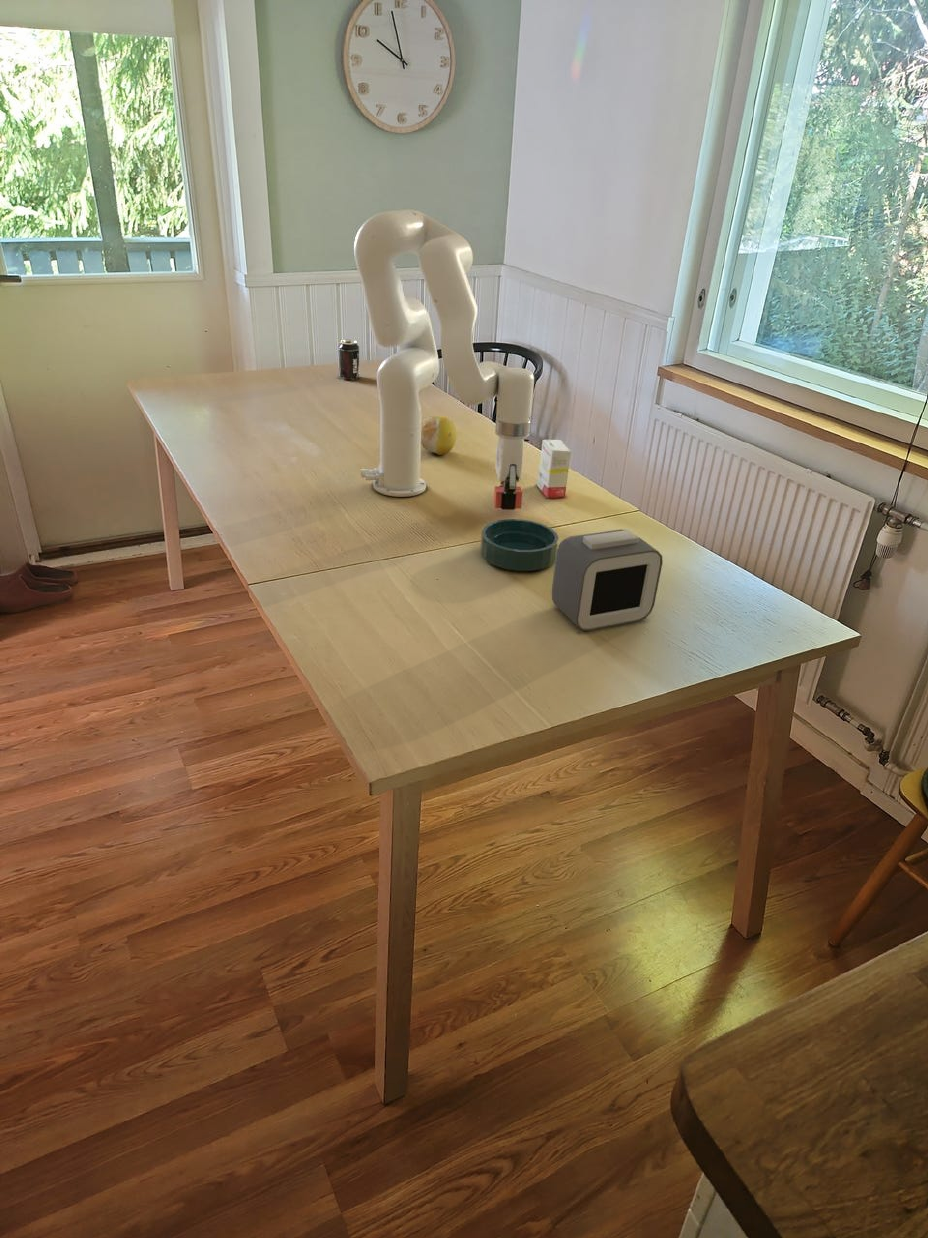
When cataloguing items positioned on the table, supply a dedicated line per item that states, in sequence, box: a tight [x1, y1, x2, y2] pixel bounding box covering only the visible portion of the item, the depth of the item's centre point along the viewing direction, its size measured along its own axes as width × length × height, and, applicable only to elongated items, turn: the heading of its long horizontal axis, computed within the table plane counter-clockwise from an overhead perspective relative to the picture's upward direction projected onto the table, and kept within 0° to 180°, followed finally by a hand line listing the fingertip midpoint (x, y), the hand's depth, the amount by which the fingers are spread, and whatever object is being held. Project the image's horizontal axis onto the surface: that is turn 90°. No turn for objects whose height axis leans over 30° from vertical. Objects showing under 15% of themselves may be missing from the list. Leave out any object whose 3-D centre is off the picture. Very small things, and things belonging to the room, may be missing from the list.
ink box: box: [536, 439, 572, 499], centre depth 202 cm, size 9×5×12 cm, turn 12°
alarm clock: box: [550, 529, 663, 632], centre depth 152 cm, size 16×11×16 cm
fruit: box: [421, 415, 458, 455], centre depth 221 cm, size 10×11×10 cm
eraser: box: [493, 485, 524, 509], centre depth 191 cm, size 6×3×4 cm, turn 94°
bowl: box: [479, 518, 560, 572], centre depth 172 cm, size 16×16×5 cm
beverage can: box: [337, 339, 360, 381], centre depth 279 cm, size 7×7×12 cm
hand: (506, 504), depth 192 cm, fingers closed on eraser, 3 cm apart
